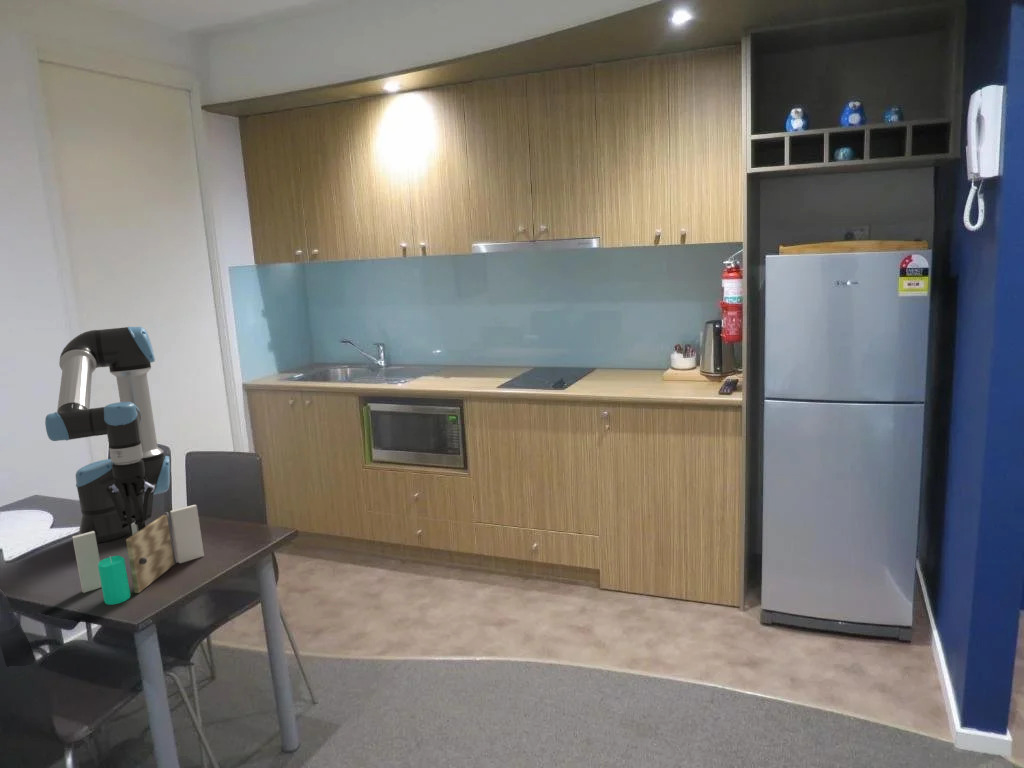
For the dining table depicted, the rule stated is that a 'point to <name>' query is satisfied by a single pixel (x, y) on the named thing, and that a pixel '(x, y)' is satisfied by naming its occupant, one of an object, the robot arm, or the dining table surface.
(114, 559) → the candle
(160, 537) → the door
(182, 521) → the door frame
